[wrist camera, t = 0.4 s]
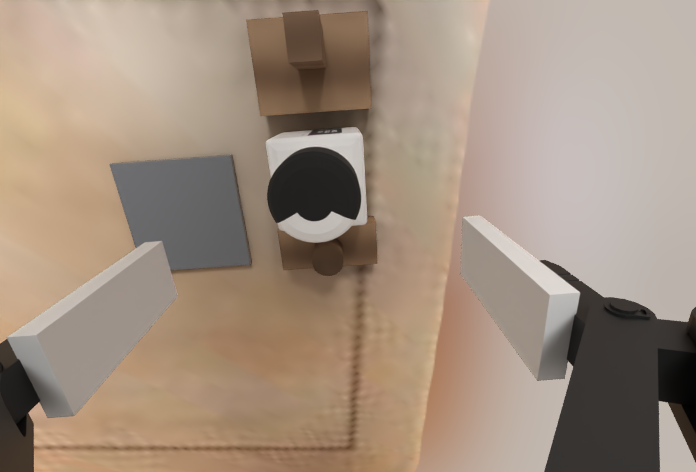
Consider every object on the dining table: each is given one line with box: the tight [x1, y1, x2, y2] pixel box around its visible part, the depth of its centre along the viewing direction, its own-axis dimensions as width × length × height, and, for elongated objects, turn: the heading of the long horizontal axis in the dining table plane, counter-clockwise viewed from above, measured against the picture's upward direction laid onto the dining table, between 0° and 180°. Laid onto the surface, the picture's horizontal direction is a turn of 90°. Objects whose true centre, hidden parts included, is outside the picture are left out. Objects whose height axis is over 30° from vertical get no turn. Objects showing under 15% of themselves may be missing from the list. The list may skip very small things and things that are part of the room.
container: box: [266, 127, 367, 243], centre depth 29 cm, size 8×8×13 cm
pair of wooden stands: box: [246, 10, 377, 276], centre depth 31 cm, size 23×10×8 cm, turn 4°
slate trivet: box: [110, 155, 252, 270], centre depth 37 cm, size 12×12×1 cm
